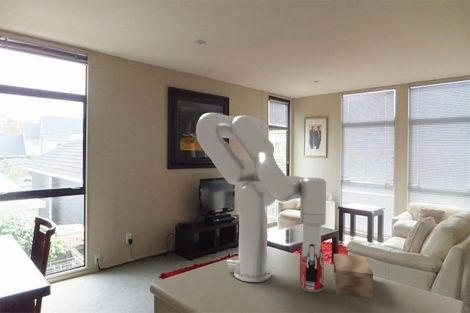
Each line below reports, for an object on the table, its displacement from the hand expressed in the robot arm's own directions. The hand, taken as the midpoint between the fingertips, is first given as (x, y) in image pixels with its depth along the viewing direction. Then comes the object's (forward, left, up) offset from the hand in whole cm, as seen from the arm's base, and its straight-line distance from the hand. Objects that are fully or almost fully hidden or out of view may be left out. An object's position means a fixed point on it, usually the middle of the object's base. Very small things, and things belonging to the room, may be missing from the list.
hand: (311, 276), depth 95 cm
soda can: (0, 0, -4) cm, 4 cm away
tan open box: (+12, +6, -4) cm, 14 cm away
